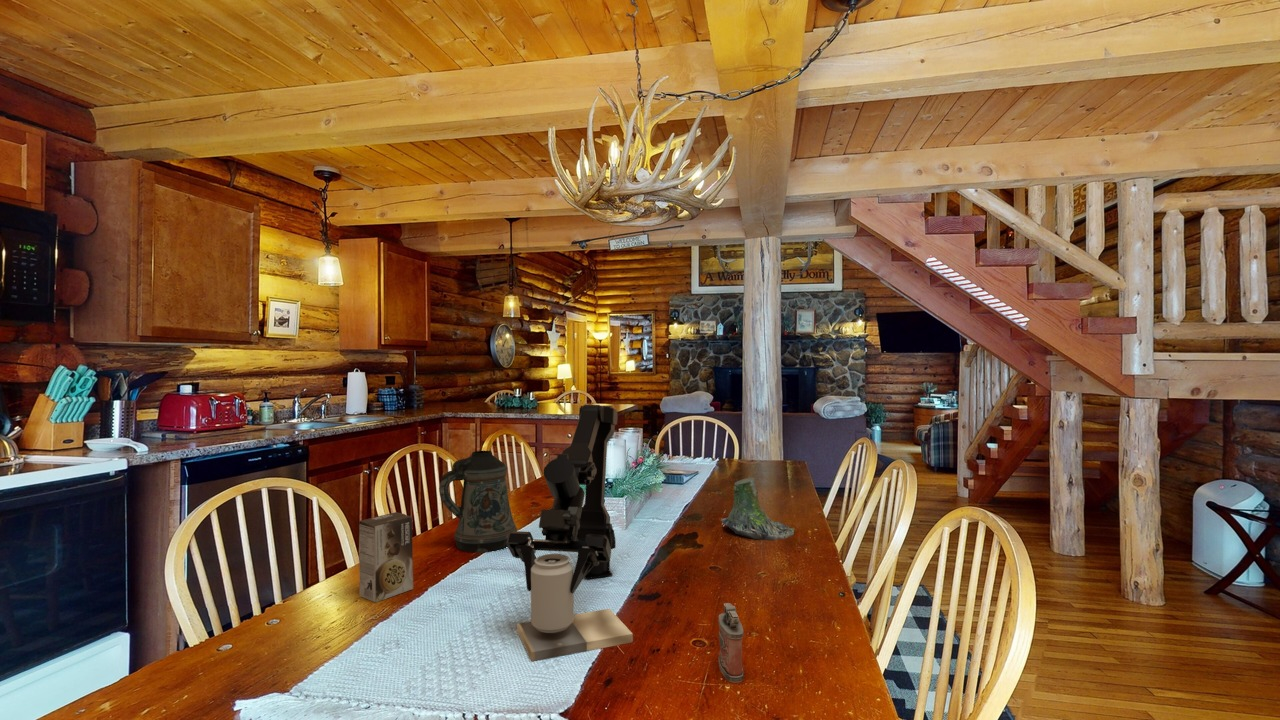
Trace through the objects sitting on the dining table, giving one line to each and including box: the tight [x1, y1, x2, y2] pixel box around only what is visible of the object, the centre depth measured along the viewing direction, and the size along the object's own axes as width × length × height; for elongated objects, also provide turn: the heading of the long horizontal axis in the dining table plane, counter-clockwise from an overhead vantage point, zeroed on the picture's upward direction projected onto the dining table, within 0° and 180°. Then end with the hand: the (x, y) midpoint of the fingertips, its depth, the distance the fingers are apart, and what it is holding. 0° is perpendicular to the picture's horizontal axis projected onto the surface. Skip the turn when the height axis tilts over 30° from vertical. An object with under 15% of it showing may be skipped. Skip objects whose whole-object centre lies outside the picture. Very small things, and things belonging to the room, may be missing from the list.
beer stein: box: [438, 450, 518, 554], centre depth 168 cm, size 16×19×25 cm
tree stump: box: [720, 477, 795, 541], centre depth 180 cm, size 18×20×18 cm
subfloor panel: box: [516, 608, 634, 662], centre depth 112 cm, size 18×12×2 cm, turn 113°
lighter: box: [718, 602, 744, 683], centre depth 101 cm, size 8×3×10 cm, turn 5°
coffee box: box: [358, 511, 414, 603], centre depth 134 cm, size 9×6×16 cm
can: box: [530, 553, 575, 633], centre depth 111 cm, size 8×8×12 cm
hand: (550, 591), depth 110 cm, fingers closed on can, 7 cm apart
